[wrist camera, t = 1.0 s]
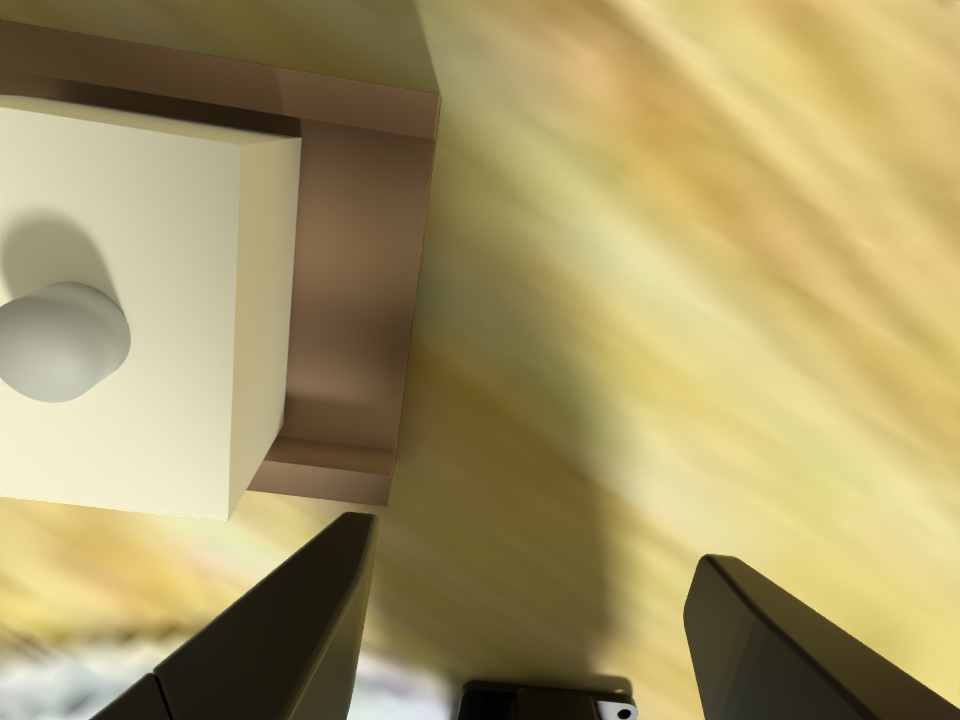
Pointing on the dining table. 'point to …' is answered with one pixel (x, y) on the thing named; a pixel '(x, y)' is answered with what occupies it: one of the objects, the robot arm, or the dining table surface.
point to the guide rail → (319, 229)
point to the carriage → (141, 305)
